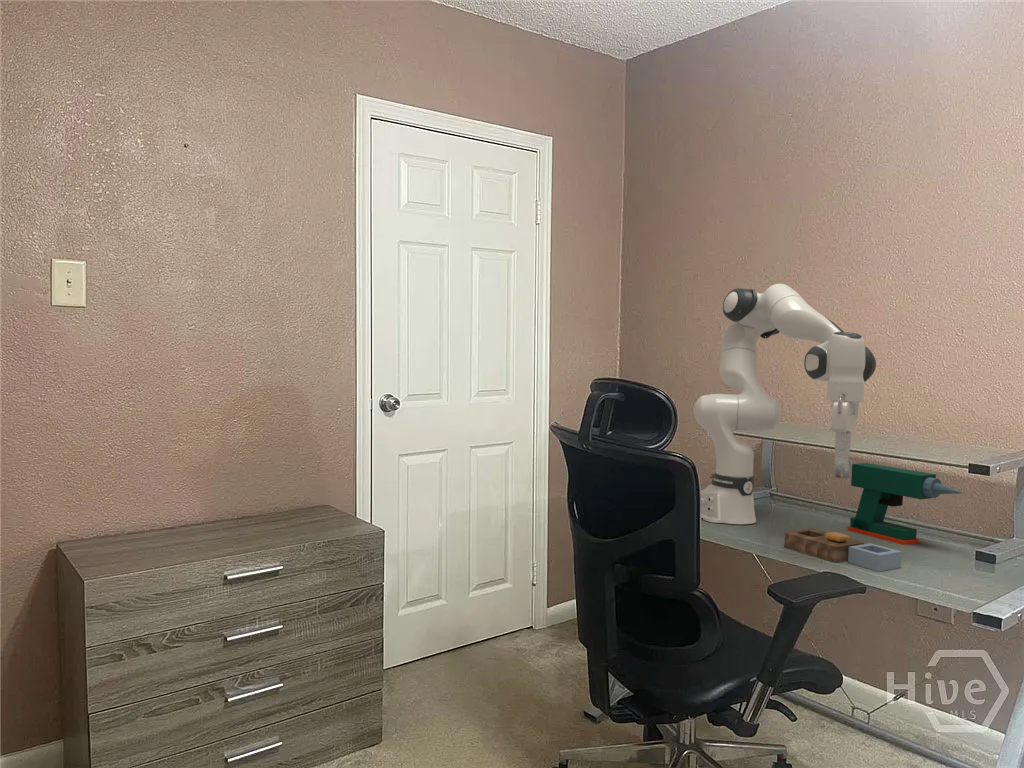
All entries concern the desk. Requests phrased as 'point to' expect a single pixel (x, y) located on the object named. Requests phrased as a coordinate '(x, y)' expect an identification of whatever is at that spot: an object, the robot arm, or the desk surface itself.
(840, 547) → the block
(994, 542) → the desk surface
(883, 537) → the power tool
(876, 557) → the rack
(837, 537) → the tan block
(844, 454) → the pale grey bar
